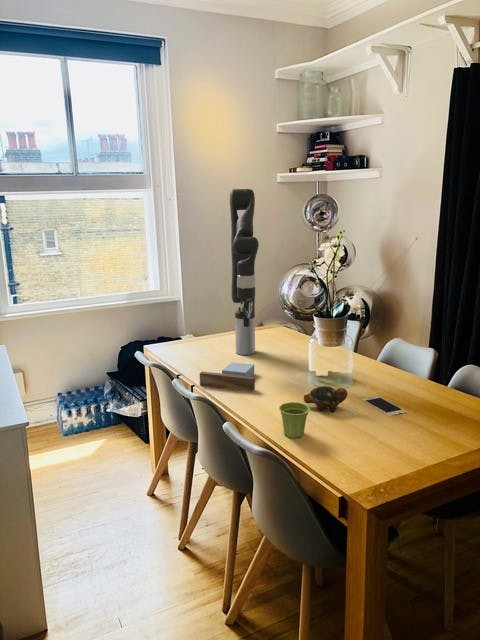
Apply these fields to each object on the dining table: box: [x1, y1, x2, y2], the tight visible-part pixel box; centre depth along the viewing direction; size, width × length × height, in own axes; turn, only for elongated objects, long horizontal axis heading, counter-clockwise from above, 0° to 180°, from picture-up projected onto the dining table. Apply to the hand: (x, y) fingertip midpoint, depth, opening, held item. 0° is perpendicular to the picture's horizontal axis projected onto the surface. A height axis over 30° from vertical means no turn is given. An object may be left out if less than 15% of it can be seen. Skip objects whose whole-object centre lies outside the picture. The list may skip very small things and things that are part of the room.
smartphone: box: [361, 395, 406, 416], centre depth 181 cm, size 7×16×1 cm, turn 23°
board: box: [199, 371, 256, 392], centre depth 201 cm, size 2×22×5 cm, turn 70°
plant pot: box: [278, 401, 311, 439], centre depth 160 cm, size 9×9×9 cm
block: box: [221, 361, 255, 377], centre depth 213 cm, size 11×10×4 cm
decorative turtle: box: [303, 385, 349, 413], centre depth 180 cm, size 10×15×8 cm, turn 80°
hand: (246, 326), depth 219 cm, fingers closed
